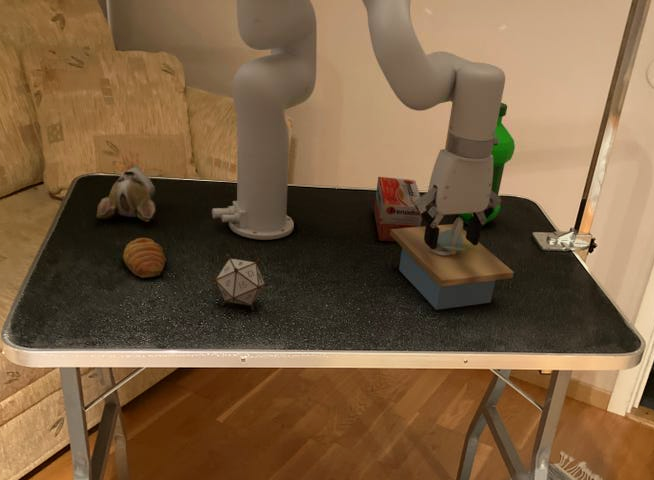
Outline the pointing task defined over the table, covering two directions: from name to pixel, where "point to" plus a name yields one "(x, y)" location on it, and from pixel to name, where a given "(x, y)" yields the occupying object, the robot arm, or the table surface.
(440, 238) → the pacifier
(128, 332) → the table surface
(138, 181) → the ceramic sculpture
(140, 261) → the pastry
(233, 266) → the game die
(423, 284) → the blue box
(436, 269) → the board
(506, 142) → the plastic bottle
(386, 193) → the medicine box
